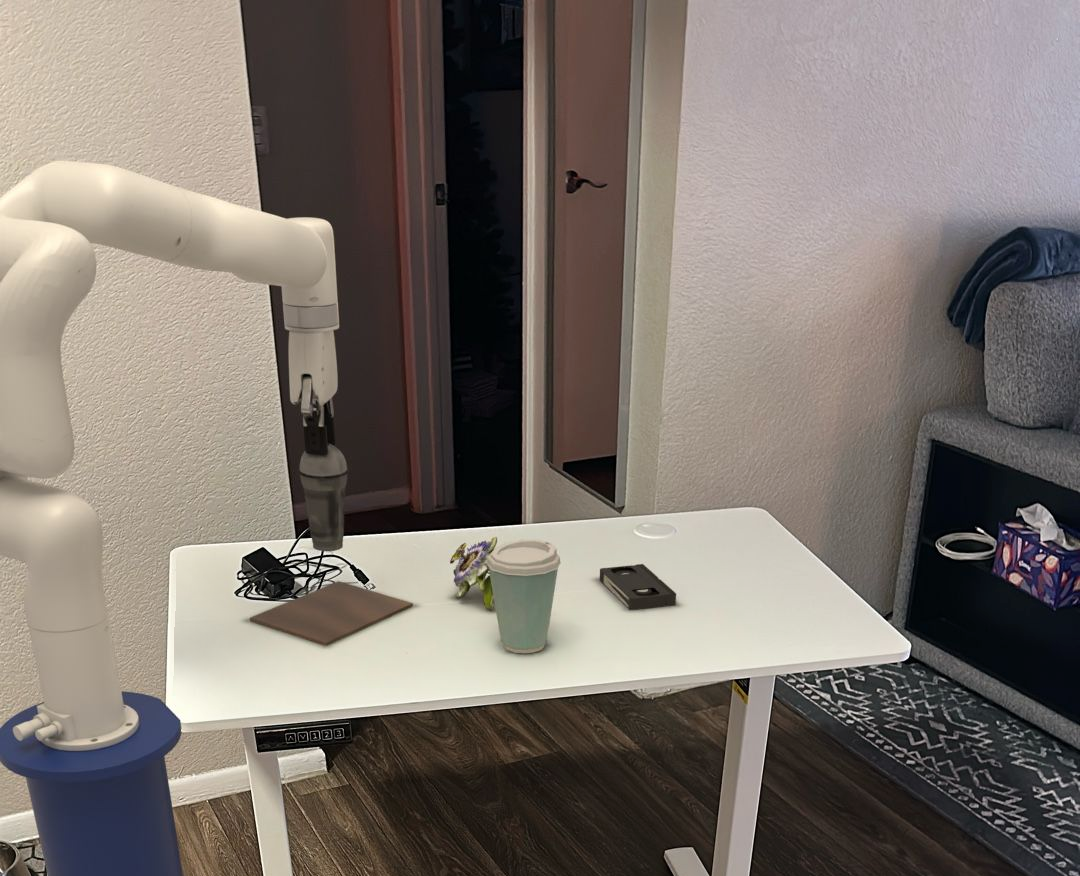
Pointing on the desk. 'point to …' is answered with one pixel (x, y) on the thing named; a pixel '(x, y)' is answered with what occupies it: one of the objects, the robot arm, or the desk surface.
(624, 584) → the vhs tape
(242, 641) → the desk surface
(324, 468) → the beverage cup
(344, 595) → the walnut board
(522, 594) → the disposable coffee cup
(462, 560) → the passion flower
